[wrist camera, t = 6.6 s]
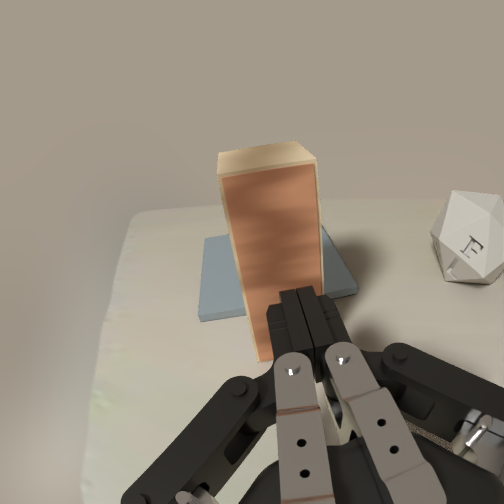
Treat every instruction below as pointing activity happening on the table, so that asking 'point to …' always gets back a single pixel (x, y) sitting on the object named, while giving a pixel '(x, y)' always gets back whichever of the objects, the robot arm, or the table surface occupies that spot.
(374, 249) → the table surface
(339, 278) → the mat
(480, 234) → the die
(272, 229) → the beech block
